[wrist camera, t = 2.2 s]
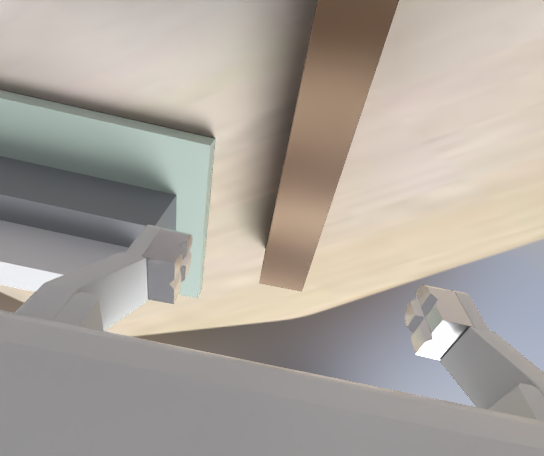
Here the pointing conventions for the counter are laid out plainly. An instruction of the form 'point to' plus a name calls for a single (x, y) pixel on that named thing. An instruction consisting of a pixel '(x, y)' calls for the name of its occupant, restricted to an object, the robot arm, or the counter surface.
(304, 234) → the walnut batten
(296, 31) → the counter surface
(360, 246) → the counter surface
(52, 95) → the counter surface
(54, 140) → the ridge stand
